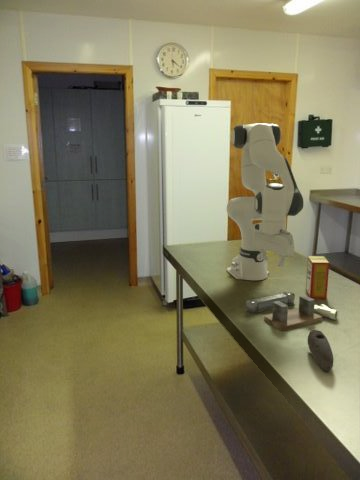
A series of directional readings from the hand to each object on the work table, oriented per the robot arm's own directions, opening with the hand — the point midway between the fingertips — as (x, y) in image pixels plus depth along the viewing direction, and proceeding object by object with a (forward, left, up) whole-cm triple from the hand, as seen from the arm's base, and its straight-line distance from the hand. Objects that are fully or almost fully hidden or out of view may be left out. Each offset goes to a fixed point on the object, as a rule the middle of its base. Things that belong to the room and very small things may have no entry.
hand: (272, 263), depth 143 cm
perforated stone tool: (+38, -11, -19) cm, 44 cm away
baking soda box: (-2, +25, -18) cm, 31 cm away
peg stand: (+13, 0, -18) cm, 22 cm away
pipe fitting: (+15, +14, -19) cm, 28 cm away
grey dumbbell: (0, 0, -18) cm, 18 cm away
